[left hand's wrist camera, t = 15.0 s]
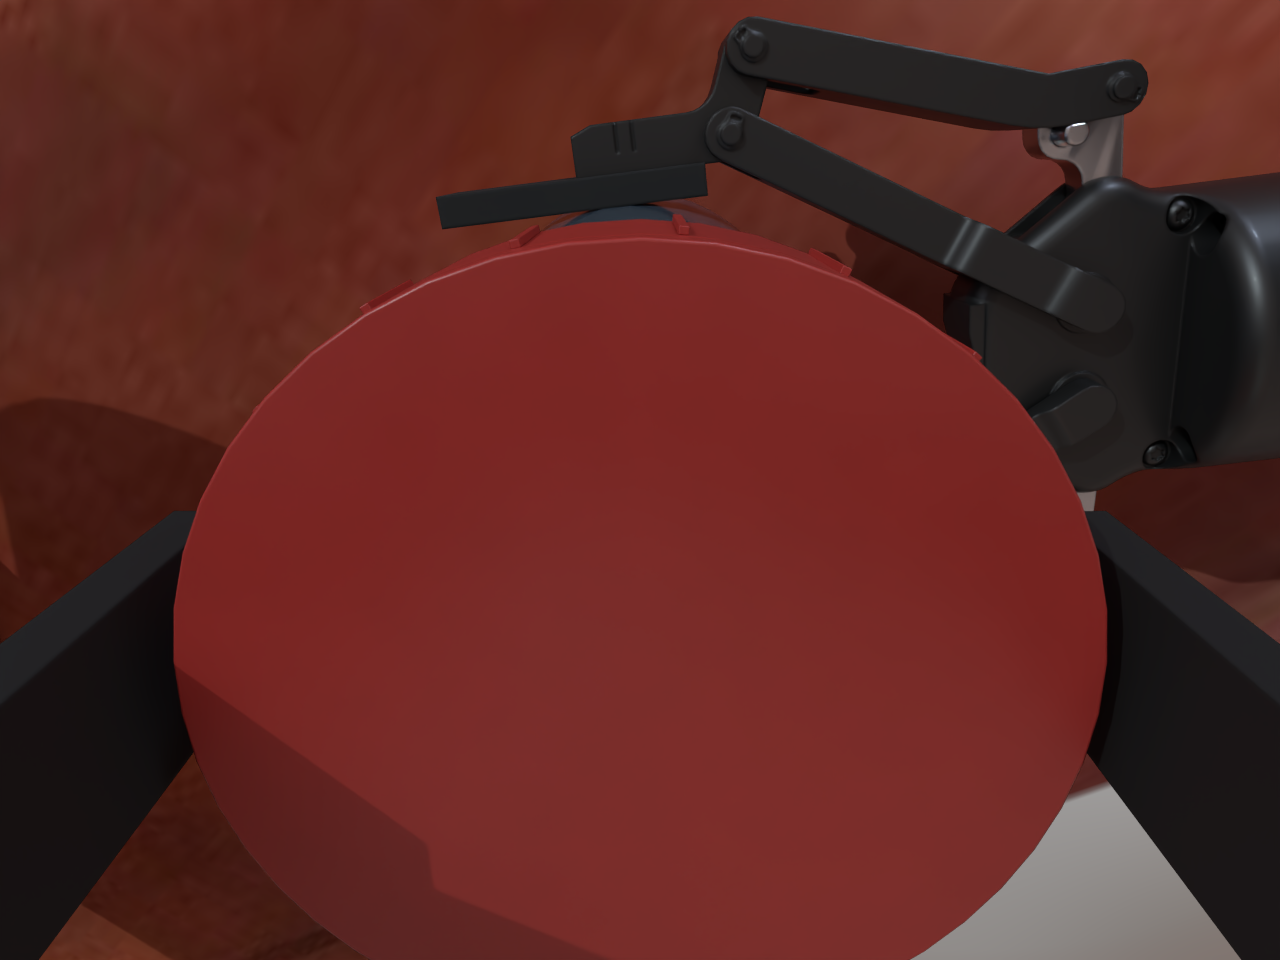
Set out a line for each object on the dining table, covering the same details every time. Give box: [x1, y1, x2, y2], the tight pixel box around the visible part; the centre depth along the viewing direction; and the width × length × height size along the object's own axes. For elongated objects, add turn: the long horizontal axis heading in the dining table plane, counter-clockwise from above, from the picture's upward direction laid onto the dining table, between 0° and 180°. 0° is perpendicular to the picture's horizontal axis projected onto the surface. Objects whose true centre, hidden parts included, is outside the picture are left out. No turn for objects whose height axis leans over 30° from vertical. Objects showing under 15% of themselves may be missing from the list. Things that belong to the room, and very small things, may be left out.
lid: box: [174, 214, 1107, 960], centre depth 11 cm, size 11×11×2 cm
